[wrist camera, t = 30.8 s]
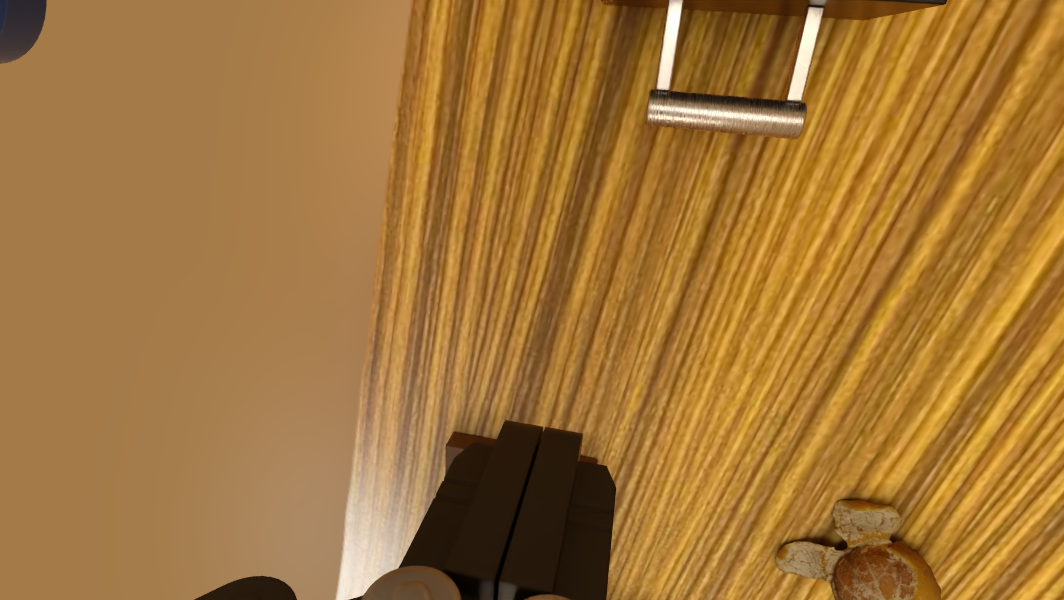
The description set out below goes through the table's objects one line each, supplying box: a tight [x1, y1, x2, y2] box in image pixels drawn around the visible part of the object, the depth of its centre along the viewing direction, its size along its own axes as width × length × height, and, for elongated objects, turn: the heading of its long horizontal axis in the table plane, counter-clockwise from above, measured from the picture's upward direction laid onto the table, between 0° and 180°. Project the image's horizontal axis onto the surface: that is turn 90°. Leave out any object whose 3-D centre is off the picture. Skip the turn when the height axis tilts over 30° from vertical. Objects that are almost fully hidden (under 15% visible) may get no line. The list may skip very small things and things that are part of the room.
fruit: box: [775, 500, 941, 600], centre depth 35 cm, size 8×8×4 cm
